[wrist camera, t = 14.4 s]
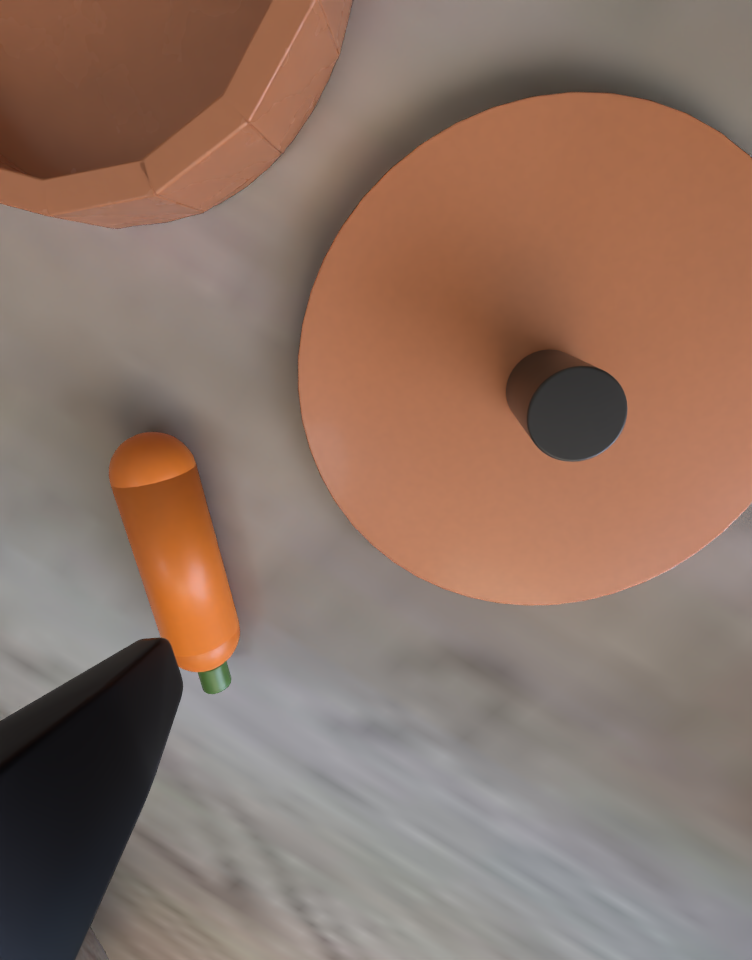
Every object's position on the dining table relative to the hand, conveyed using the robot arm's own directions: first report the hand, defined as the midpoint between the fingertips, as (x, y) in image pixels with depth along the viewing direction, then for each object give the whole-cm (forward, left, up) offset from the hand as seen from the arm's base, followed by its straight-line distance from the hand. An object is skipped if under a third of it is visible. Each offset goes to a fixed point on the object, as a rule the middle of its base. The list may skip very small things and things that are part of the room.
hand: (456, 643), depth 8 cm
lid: (-4, -1, -12) cm, 13 cm away
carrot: (+10, +4, -13) cm, 17 cm away
